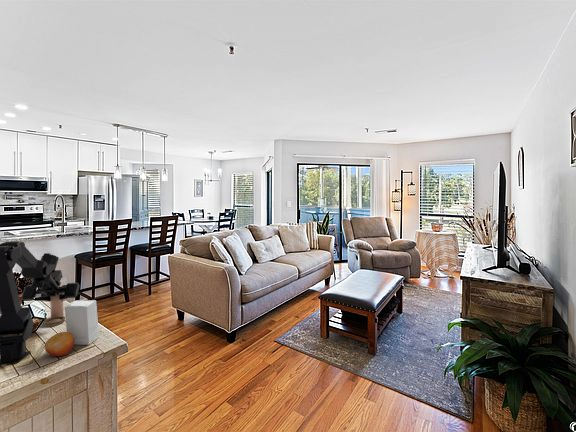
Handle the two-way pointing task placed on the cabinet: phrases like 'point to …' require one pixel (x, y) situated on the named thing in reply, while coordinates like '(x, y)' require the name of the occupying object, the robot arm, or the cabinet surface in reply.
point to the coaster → (54, 321)
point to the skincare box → (82, 321)
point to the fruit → (60, 344)
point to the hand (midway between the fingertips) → (58, 300)
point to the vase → (56, 306)
